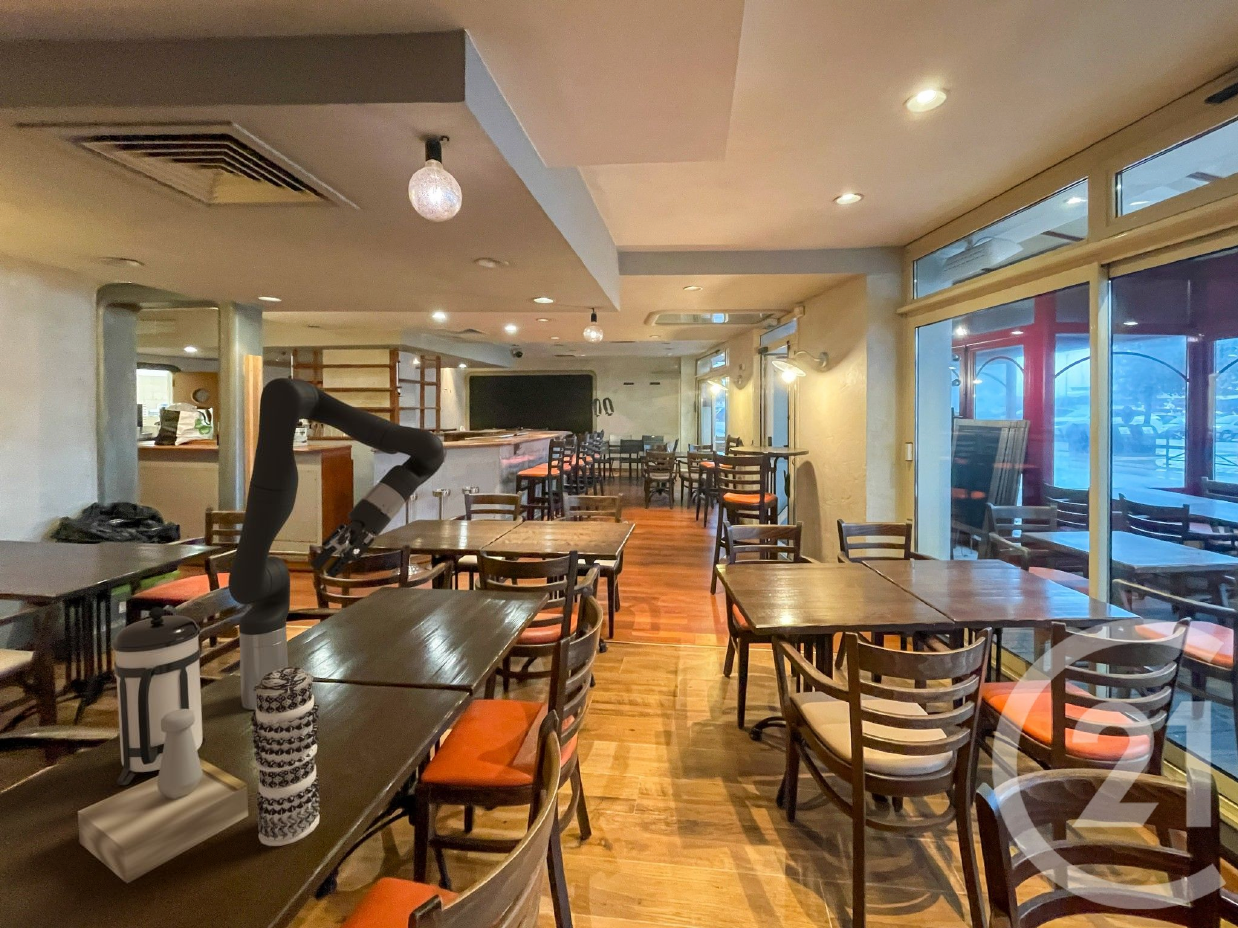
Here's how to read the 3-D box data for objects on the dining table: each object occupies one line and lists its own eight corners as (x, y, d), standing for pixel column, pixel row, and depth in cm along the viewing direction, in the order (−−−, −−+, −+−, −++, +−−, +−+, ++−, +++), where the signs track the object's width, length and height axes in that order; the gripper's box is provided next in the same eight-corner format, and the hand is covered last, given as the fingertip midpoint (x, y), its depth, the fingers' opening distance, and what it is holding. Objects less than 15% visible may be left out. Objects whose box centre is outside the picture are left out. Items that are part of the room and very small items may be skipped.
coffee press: (85, 779, 103) (75, 616, 101) (181, 735, 118) (174, 592, 116) (145, 803, 96) (136, 629, 95) (238, 753, 111) (232, 602, 109)
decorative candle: (294, 851, 86) (288, 689, 84) (240, 843, 87) (234, 684, 86) (335, 811, 95) (330, 663, 93) (285, 804, 96) (280, 659, 95)
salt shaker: (178, 805, 88) (174, 723, 88) (148, 800, 89) (143, 720, 89) (212, 782, 94) (208, 705, 93) (183, 778, 95) (179, 702, 94)
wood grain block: (79, 842, 87) (77, 808, 87) (197, 785, 101) (196, 756, 101) (127, 883, 80) (125, 846, 79) (248, 815, 93) (246, 783, 93)
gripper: (351, 494, 125) (294, 554, 117) (378, 500, 115) (319, 566, 107) (376, 516, 129) (323, 575, 121) (404, 523, 119) (349, 588, 111)
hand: (321, 571), depth 114 cm, fingers open, 8 cm apart
